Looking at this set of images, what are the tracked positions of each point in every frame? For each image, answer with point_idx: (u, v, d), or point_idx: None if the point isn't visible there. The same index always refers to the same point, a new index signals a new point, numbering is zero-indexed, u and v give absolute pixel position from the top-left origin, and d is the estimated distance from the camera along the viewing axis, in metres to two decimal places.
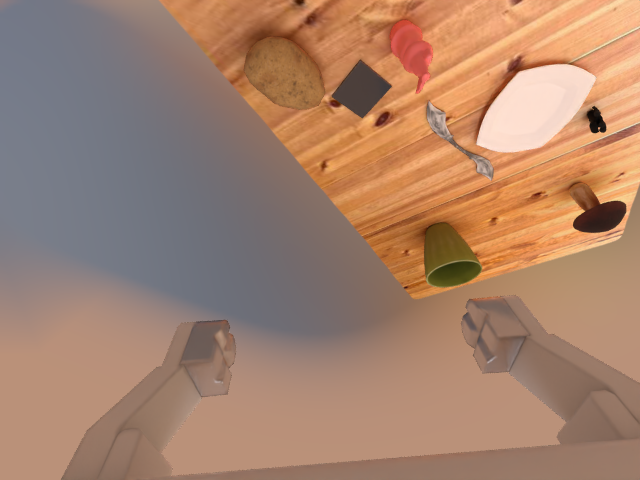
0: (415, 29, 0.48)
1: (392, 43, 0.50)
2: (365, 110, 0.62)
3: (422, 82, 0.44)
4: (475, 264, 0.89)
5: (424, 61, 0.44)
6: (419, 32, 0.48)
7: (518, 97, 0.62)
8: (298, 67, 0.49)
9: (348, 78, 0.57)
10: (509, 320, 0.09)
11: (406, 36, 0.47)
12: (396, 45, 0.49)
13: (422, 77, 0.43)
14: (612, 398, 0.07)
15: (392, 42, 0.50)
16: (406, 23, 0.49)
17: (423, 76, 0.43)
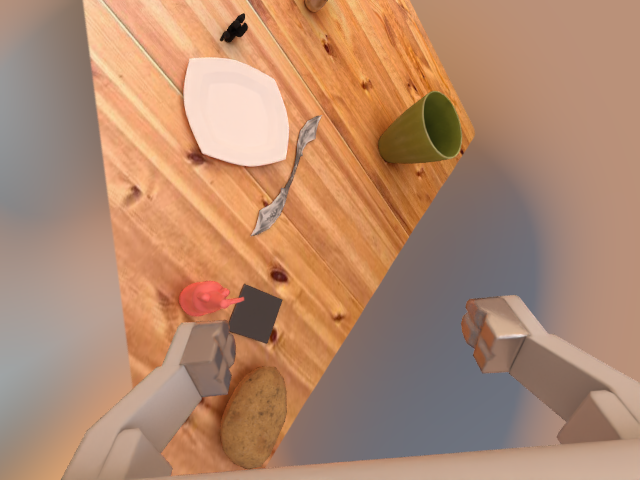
0: (184, 299, 0.44)
1: (202, 314, 0.46)
2: (273, 301, 0.57)
3: (231, 303, 0.38)
4: None
5: (209, 301, 0.39)
6: (186, 292, 0.45)
7: (228, 135, 0.54)
8: (244, 413, 0.45)
9: (246, 334, 0.53)
10: (509, 320, 0.09)
11: (192, 310, 0.43)
12: None
13: (225, 307, 0.37)
14: (612, 397, 0.07)
15: (201, 314, 0.46)
16: (181, 302, 0.46)
17: (224, 307, 0.37)
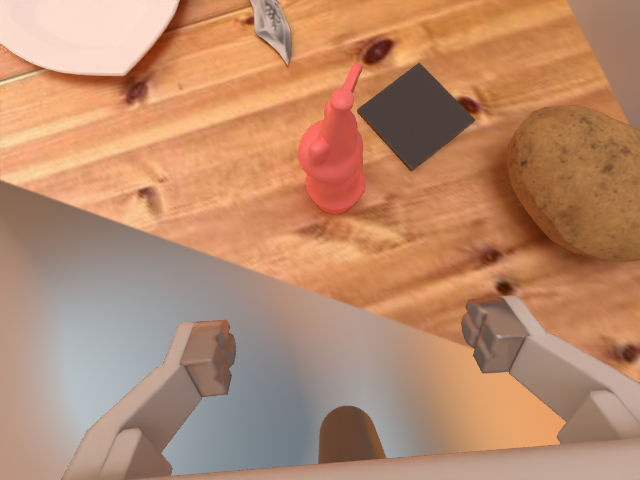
0: (321, 199, 0.25)
1: (363, 186, 0.26)
2: (412, 77, 0.31)
3: (350, 87, 0.15)
4: None
5: (329, 142, 0.18)
6: (313, 192, 0.25)
7: (118, 28, 0.32)
8: (582, 197, 0.22)
9: (438, 144, 0.30)
10: (509, 320, 0.09)
11: (343, 194, 0.24)
12: (358, 181, 0.25)
13: (351, 101, 0.15)
14: (612, 398, 0.07)
15: (362, 188, 0.26)
16: None
17: (349, 103, 0.15)
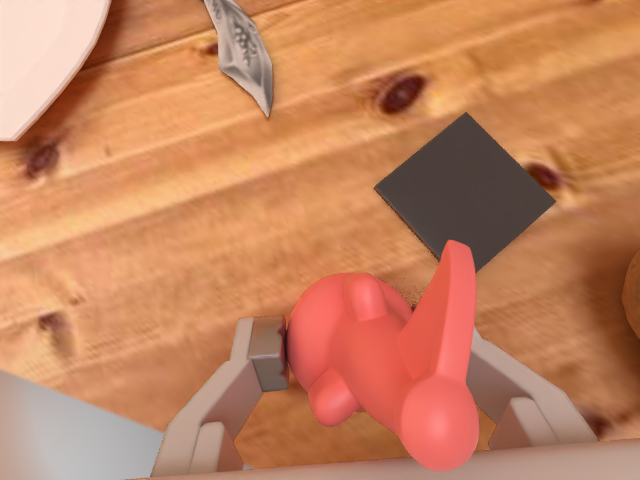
0: None
1: None
2: (456, 135, 0.20)
3: (461, 367, 0.05)
4: None
5: None
6: None
7: (15, 64, 0.21)
8: None
9: (502, 243, 0.19)
10: None
11: None
12: None
13: (474, 431, 0.04)
14: (531, 404, 0.07)
15: None
16: None
17: (470, 446, 0.04)
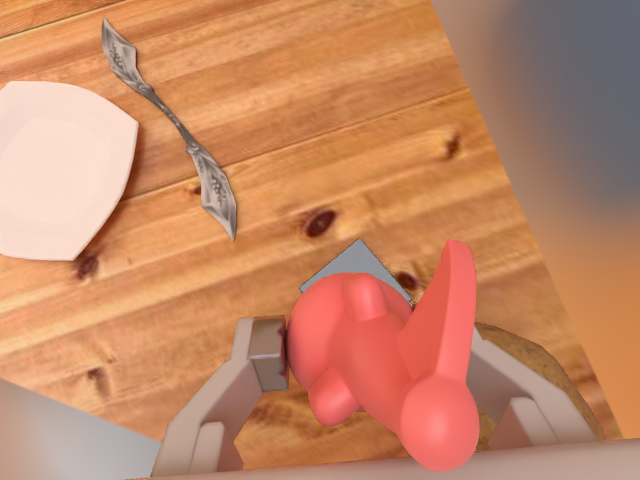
0: None
1: None
2: (352, 254, 0.32)
3: (461, 367, 0.05)
4: None
5: None
6: None
7: (70, 203, 0.33)
8: None
9: None
10: None
11: None
12: None
13: (474, 431, 0.04)
14: (531, 404, 0.07)
15: None
16: None
17: (470, 446, 0.04)
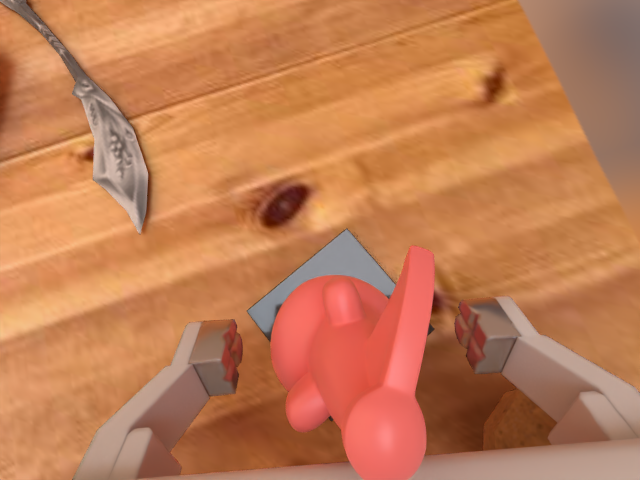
0: None
1: None
2: (335, 254, 0.19)
3: (411, 379, 0.04)
4: None
5: None
6: None
7: None
8: None
9: None
10: (501, 321, 0.09)
11: None
12: None
13: (420, 445, 0.04)
14: (601, 398, 0.07)
15: None
16: None
17: (414, 461, 0.04)
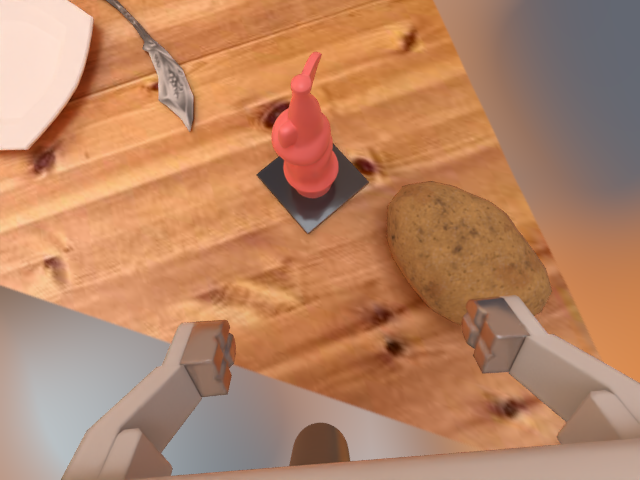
0: (298, 182, 0.27)
1: (336, 170, 0.28)
2: None
3: (308, 73, 0.17)
4: None
5: (295, 124, 0.19)
6: (289, 176, 0.27)
7: (25, 99, 0.33)
8: (438, 275, 0.23)
9: (333, 208, 0.31)
10: (509, 320, 0.09)
11: (316, 176, 0.25)
12: (331, 165, 0.27)
13: (309, 84, 0.17)
14: (612, 397, 0.07)
15: (336, 171, 0.28)
16: (307, 193, 0.30)
17: (307, 86, 0.17)
